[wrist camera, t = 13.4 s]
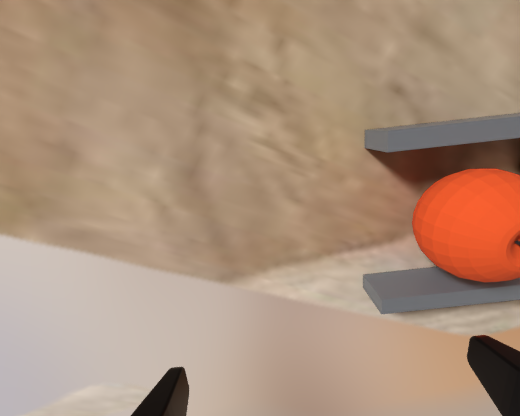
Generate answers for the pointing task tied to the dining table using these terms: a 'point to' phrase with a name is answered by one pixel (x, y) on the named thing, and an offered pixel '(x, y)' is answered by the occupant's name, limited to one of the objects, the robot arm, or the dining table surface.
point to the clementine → (472, 224)
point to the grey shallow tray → (435, 278)
